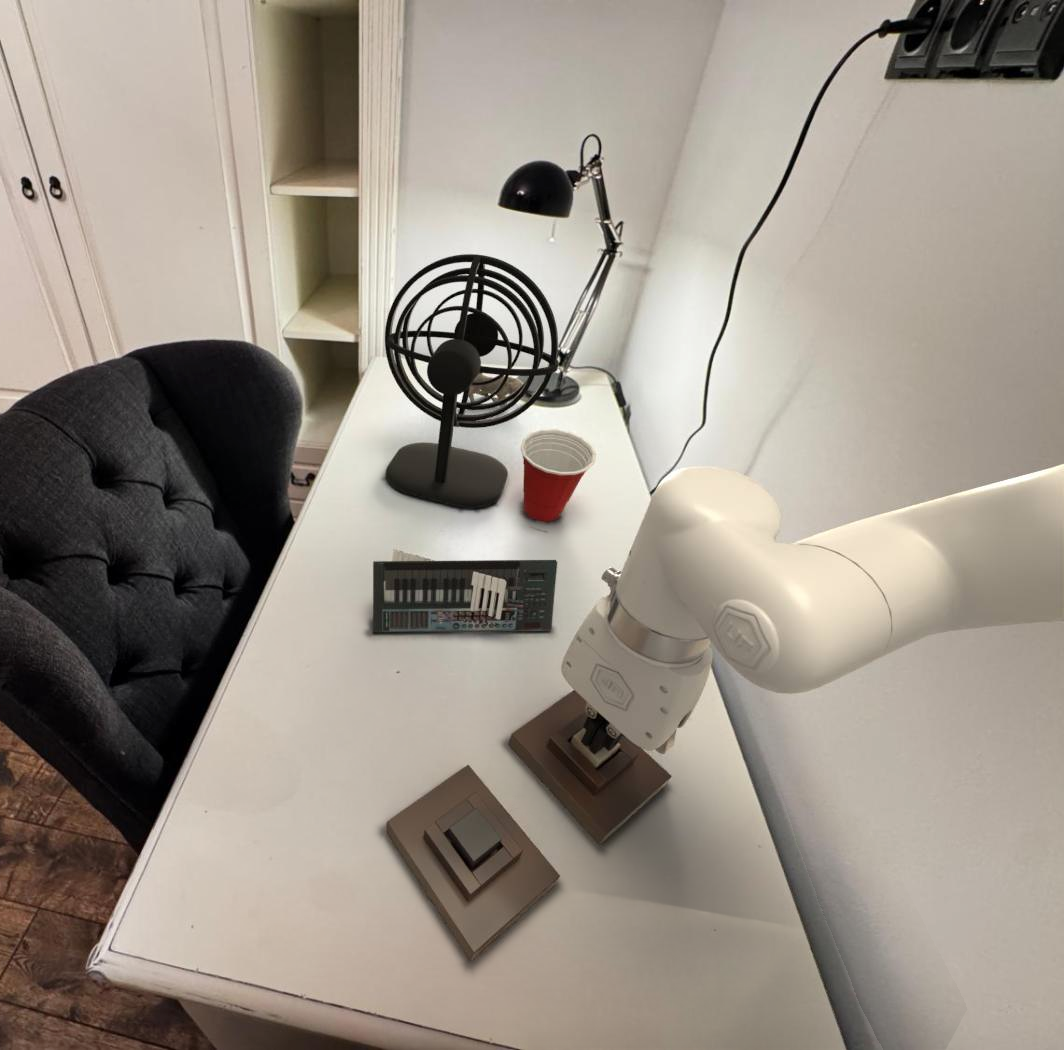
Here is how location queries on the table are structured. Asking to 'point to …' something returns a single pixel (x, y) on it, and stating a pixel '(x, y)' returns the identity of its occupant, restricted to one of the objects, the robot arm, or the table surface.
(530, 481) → the plastic cup
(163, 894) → the table surface
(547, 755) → the key block
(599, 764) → the key ivory
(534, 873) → the key block
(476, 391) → the dog figurine
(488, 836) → the key ebony
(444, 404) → the desk fan
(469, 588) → the synthesizer keyboard
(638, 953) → the table surface
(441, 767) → the table surface
